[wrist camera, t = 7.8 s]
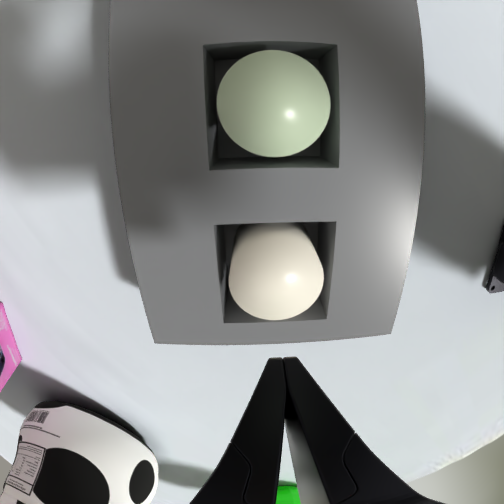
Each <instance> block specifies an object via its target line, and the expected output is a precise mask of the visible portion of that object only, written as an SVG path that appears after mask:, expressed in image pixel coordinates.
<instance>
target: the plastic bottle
mask: <svg viewBox="0 0 504 504" xmlns="http://www.w3.org/2000/svg"><path fill="white" fill-rule="evenodd" d="M276 504H301V503H300V498H299V493H298V488H297V487H296V486H278V490H277V499H276Z"/></svg>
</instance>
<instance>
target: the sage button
mask: <svg viewBox="0 0 504 504" xmlns="http://www.w3.org/2000/svg"><path fill="white" fill-rule="evenodd" d="M330 105H331V103H330V95H329V91H328V88H327V85H326V83H325V81H324V79H323V77H322V76H321V74H320V73H319V71H318V70H317V69H316V68H315V67H314V66H313V65H312V64H310V63H309V62H308V61H307V60H305V59H303V58H302V57H300V56H298V55H295V54H293V53H290V52H286V51H281V50H264V51H259V52H255V53H252V54H249V55H247V56H245V57H243V58H242V59H240V60H239V61H237V62H236V63H235V64H234V65H233V66H232V67H231V68H230V69H229V70H228V71H227V73H226V74H225V76H224V77H223V79H222V81H221V83H220V86H219V89H218V94H217V112H218V116H219V119H220V122H221V124H222V126H223V128H224V130H225V131H226V133H227V134H228V135H229V137H230V138H231V139H232V140H233V141H234V142H235V143H237V144H238V145H239V146H240V147H242V148H244V149H245V150H247V151H249V152H252V153H254V154H257V155H261V156H266V157H284V156H289V155H292V154H295V153H298V152H300V151H302V150H304V149H306V148H307V147H309V146H310V145H311V144H312V143H314V142H315V141H316V140H317V138H318V137H319V136H320V135H321V133H322V132H323V130H324V128H325V126H326V124H327V122H328V119H329V114H330Z"/></svg>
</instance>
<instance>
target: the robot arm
mask: <svg viewBox="0 0 504 504" xmlns="http://www.w3.org/2000/svg"><path fill="white" fill-rule="evenodd" d="M486 290H487V291H488V292H489V293H496V292H502V291H504V226H503V231H502V235H501V239H500V243H499V247H498V251H497V254H496V258H495V261H494V265H493V268H492V271H491V274H490V278H489V281H488V284H487V287H486ZM284 421H285V427H286V433H287V438H288V443H289V448H290V453H291V458H292V463H293V468H294V473H295V478H296V483H297V488H298V493H299V498H300V503H301V504H445V503H442V502H438V501H435V500H432V499H429V498H426V497H424V496H422V495H420V494H419V493H417V492H416V491H414V490H413V489H412V488H411V487H410V486H409V485H407V484H406V483H405V482H404V481H403V480H402V479H401V478H399V477H398V476H397V475H396V474H395V473H394V472H393V471H392V470H390V469H389V468H388V467H387V466H386V465H385V464H384V463H383V462H382V461H381V460H380V459H379V458H378V457H377V456H376V455H375V454H374V453H373V452H372V451H371V450H370V449H369V448H368V446H367V445H366V444H365V443H364V442H363V441H362V439H361V438H360V437H359V436H358V434H357V433H355V431H354V430H353V428H352V427H351V426H350V425H349V423H348V422H347V421H346V420H345V418H344V417H343V416H342V415H341V413H340V412H339V411H338V409H337V408H336V407H335V406H334V404H333V403H332V402H331V401H330V399H329V398H328V397H327V395H326V394H325V393H324V392H323V390H322V389H321V388H320V386H319V385H318V384H317V383H316V381H315V380H314V379H313V377H312V376H311V375H310V374H309V372H308V371H307V370H306V368H305V367H304V366H303V364H302V363H301V362H300V361H299V359H298V358H297V357H284V358H283V359H282V358H281V357H278V358H269V359H268V361H267V364H266V366H265V368H264V370H263V373H262V375H261V377H260V379H259V382H258V384H257V386H256V388H255V390H254V393H253V395H252V397H251V399H250V401H249V403H248V406H247V408H246V410H245V412H244V414H243V416H242V418H241V420H240V422H239V425H238V427H237V429H236V431H235V433H234V435H233V437H232V439H231V441H230V442H231V443H229V445H228V447H227V449H226V451H225V453H224V454H223V456H222V458H221V460H220V462H219V463H218V465H217V467H216V468H215V470H214V471H213V473H212V474H211V476H210V477H209V479H208V480H207V482H206V483H205V484H204V486H203V487H202V488H201V489H200V491H199V492H198V493H197V495H196V496H195V497H194V499H193V500H192V501H191V502H190V504H276V499H277V490H278V482H279V473H280V463H281V454H282V443H283V433H284ZM354 433H355V434H354Z"/></svg>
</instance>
